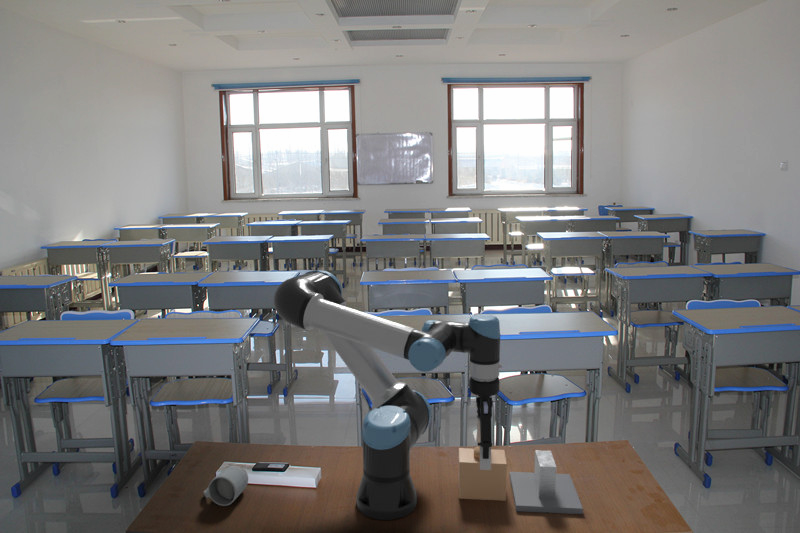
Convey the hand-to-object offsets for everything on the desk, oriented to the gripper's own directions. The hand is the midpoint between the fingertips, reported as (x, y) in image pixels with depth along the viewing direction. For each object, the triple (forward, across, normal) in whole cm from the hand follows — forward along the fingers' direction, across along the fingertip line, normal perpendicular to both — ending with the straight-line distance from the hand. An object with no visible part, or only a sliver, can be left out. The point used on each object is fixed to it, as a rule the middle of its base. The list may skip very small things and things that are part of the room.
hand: (483, 455), depth 148 cm
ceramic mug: (+10, -8, +66) cm, 67 cm away
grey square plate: (+10, 0, -16) cm, 19 cm away
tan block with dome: (+10, 0, 0) cm, 10 cm away
